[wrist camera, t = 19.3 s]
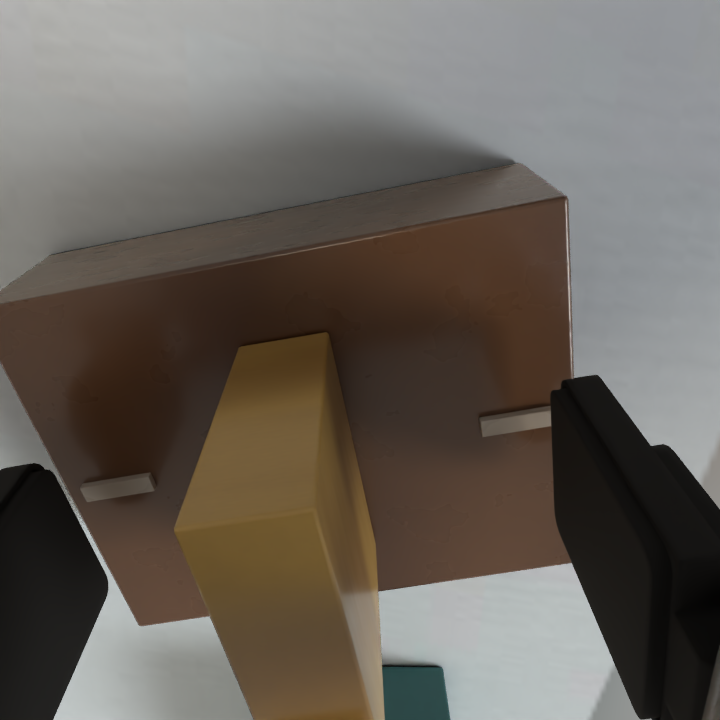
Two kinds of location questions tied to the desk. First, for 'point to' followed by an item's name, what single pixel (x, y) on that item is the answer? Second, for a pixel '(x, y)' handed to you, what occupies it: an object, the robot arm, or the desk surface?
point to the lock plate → (352, 358)
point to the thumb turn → (287, 538)
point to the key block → (414, 693)
